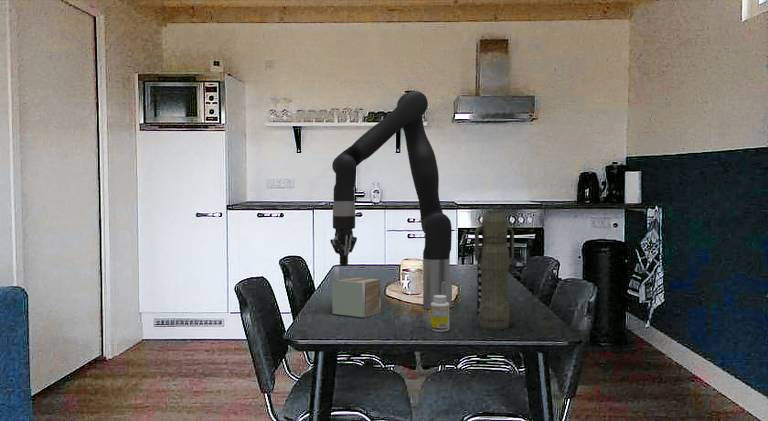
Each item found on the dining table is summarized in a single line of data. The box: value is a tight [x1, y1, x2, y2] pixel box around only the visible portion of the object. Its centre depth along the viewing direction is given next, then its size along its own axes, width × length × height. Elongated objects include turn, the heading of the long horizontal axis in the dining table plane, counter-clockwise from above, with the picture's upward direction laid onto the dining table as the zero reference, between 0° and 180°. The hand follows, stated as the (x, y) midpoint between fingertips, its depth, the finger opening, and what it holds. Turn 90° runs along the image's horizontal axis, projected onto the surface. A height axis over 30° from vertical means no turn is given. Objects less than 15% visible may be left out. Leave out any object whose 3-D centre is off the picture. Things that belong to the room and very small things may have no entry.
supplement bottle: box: [430, 295, 451, 333], centre depth 196 cm, size 6×6×10 cm
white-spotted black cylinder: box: [476, 253, 481, 318], centre depth 216 cm, size 8×8×20 cm
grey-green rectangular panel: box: [331, 265, 366, 318], centre depth 216 cm, size 12×2×16 cm, turn 59°
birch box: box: [340, 276, 382, 318], centre depth 221 cm, size 12×10×11 cm
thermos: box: [474, 210, 515, 330], centre depth 200 cm, size 9×12×35 cm
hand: (343, 265), depth 222 cm, fingers closed
